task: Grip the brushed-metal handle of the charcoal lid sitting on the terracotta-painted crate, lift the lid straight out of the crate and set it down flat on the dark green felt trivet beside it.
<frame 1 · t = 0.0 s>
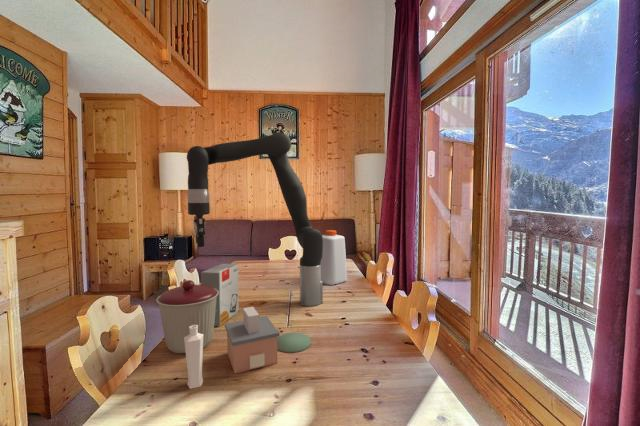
hand: (199, 245, 114), 29 cm above the table, tool pointing down, fingers open, 8 cm apart
perfume bottle: (194, 384, 78), on the table
hard drive box: (221, 318, 119), on the table
crate: (251, 357, 90), on the table
lid: (251, 331, 90), point 8 cm above the table, touching crate
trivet: (292, 343, 99), on the table
plastic bottle: (331, 281, 169), on the table
canister: (190, 346, 98), on the table
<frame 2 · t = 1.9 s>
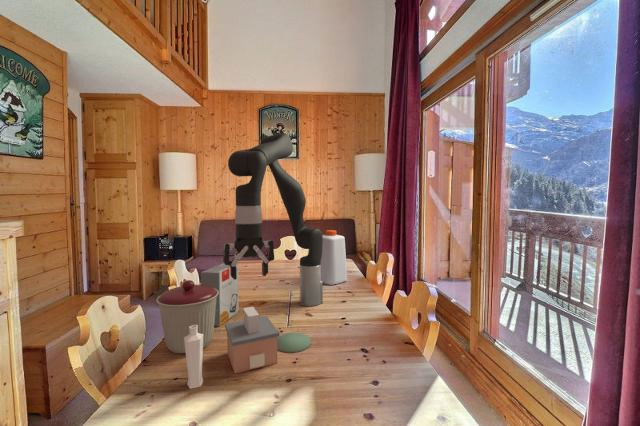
hand: (249, 277, 89), 24 cm above the table, tool pointing down, fingers open, 8 cm apart
nothing on the table moved.
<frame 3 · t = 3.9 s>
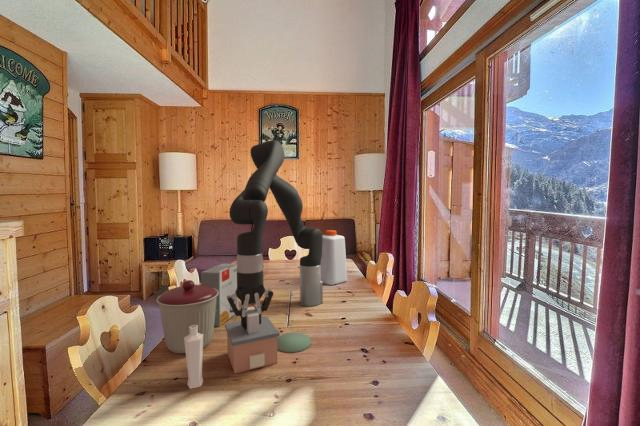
hand: (251, 326, 90), 9 cm above the table, tool pointing down, fingers closed on lid, 3 cm apart
lid: (251, 331, 90), point 8 cm above the table, touching crate, gripper
everything else where it was.
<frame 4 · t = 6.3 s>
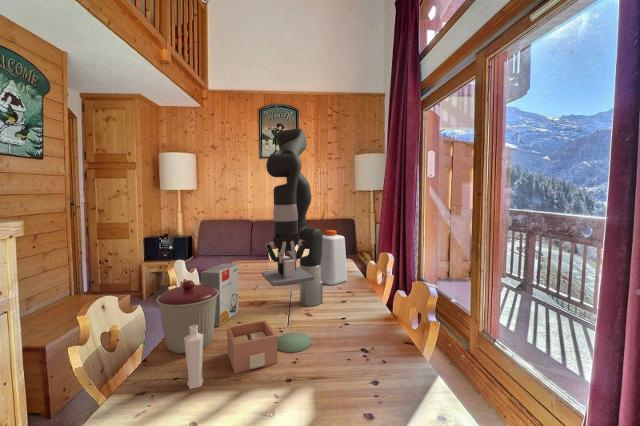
hand: (287, 273, 97), 23 cm above the table, tool pointing down, fingers closed on lid, 3 cm apart
lid: (287, 277, 97), point 22 cm above the table, touching gripper
everything else where it was.
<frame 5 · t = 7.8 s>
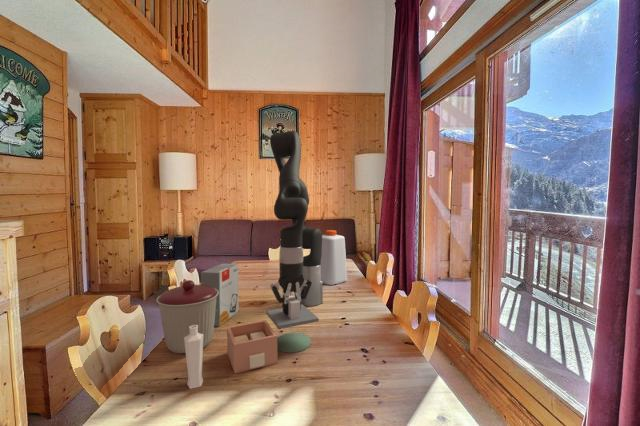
hand: (291, 313, 98), 10 cm above the table, tool pointing down, fingers closed on lid, 3 cm apart
lid: (291, 317, 98), point 9 cm above the table, touching gripper
everything else where it was.
when the fingers open (5 cm above the table, at t = 9.0 s): lid drops 2 cm, resting on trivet.
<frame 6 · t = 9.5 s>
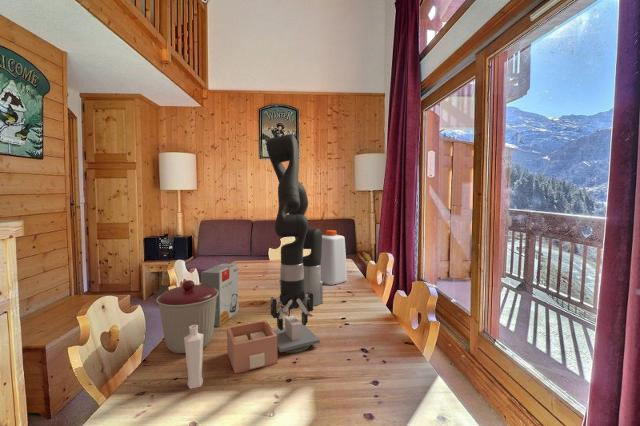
hand: (292, 326, 99), 5 cm above the table, tool pointing down, fingers open, 7 cm apart
lid: (292, 338, 99), point 2 cm above the table, touching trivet
everything else where it was.
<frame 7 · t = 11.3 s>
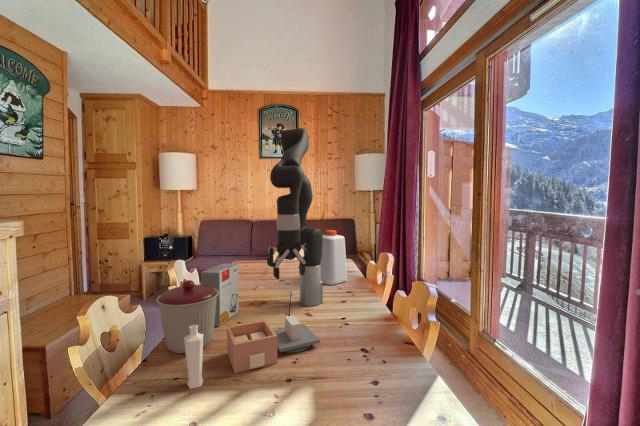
hand: (289, 276, 100), 21 cm above the table, tool pointing down, fingers open, 8 cm apart
nothing on the table moved.
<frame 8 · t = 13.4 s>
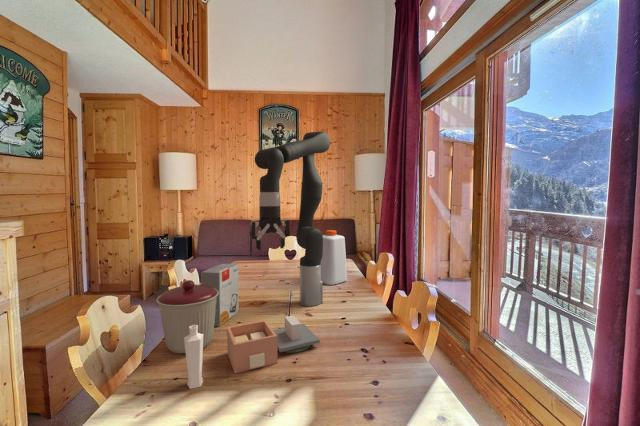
hand: (270, 249, 112), 28 cm above the table, tool pointing down, fingers open, 8 cm apart
nothing on the table moved.
at the end: lid inside the target area on the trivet (0.1 cm from its centre), point 1.6 cm above the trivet's base; lid tilted 0°; the gripper is holding nothing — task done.
